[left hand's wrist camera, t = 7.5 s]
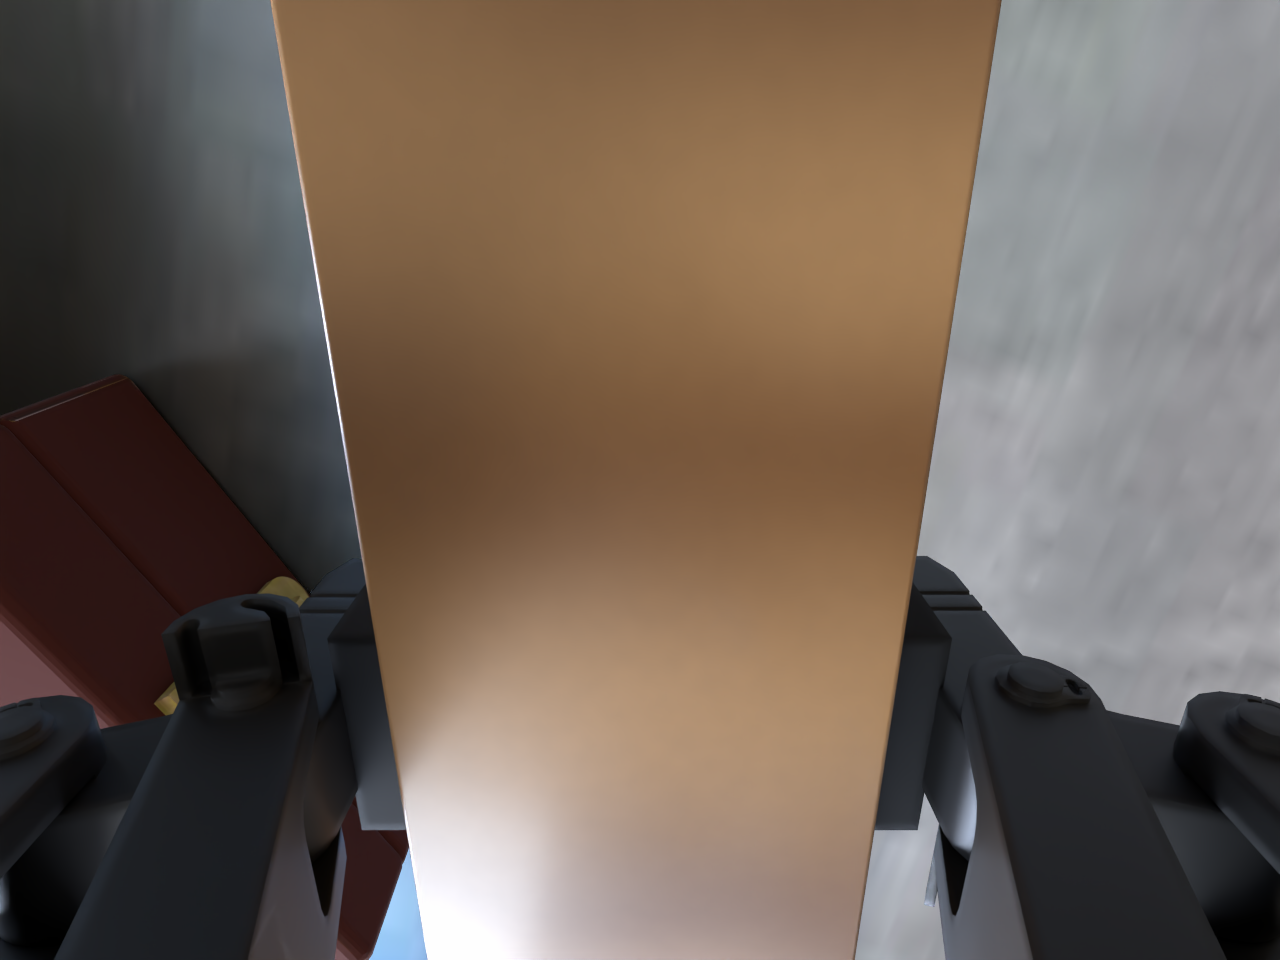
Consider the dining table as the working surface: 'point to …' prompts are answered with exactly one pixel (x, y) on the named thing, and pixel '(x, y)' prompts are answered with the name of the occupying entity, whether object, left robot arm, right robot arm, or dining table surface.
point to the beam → (638, 437)
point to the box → (136, 582)
